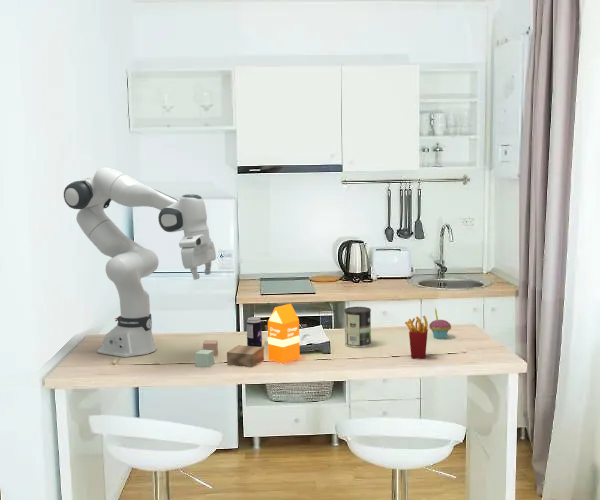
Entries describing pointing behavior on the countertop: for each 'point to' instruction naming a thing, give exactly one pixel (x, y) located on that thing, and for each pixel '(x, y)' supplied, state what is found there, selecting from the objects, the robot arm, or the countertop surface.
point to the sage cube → (204, 358)
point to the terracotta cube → (211, 346)
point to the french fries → (418, 338)
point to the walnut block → (245, 356)
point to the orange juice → (283, 334)
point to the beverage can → (254, 332)
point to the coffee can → (357, 327)
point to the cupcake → (439, 327)
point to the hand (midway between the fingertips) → (202, 276)
